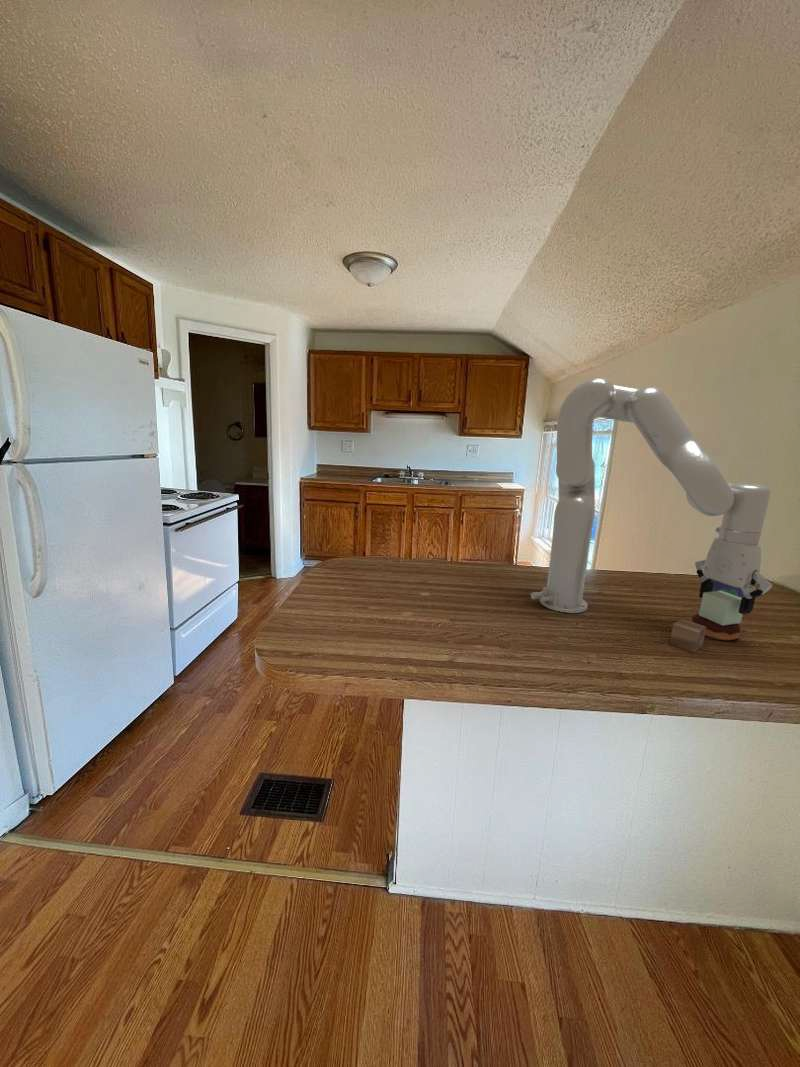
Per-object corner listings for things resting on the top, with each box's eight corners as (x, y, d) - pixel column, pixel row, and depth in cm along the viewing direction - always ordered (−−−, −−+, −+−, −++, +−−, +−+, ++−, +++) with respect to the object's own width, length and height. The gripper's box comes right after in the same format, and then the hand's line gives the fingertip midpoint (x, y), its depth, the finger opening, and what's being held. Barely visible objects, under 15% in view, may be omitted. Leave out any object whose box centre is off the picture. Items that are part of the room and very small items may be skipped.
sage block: (722, 625, 101) (728, 601, 100) (698, 615, 107) (703, 592, 105) (740, 622, 103) (746, 599, 101) (716, 612, 108) (721, 590, 107)
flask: (738, 610, 119) (747, 574, 117) (743, 615, 117) (752, 578, 114) (701, 606, 122) (708, 570, 119) (705, 610, 119) (712, 574, 117)
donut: (679, 627, 108) (682, 613, 107) (704, 622, 112) (707, 607, 111) (722, 646, 99) (725, 630, 98) (747, 639, 103) (751, 624, 102)
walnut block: (693, 652, 95) (698, 632, 94) (669, 643, 99) (673, 624, 98) (702, 646, 98) (706, 626, 97) (678, 638, 102) (681, 618, 101)
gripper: (692, 529, 107) (679, 593, 111) (768, 547, 91) (750, 621, 95) (714, 527, 109) (701, 590, 113) (792, 545, 93) (773, 618, 97)
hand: (723, 604), depth 104 cm, fingers open, 9 cm apart
